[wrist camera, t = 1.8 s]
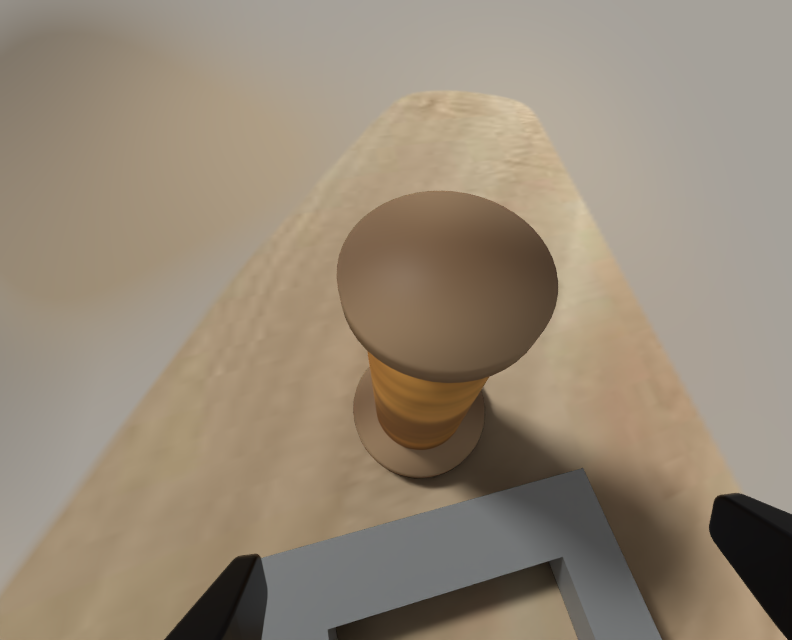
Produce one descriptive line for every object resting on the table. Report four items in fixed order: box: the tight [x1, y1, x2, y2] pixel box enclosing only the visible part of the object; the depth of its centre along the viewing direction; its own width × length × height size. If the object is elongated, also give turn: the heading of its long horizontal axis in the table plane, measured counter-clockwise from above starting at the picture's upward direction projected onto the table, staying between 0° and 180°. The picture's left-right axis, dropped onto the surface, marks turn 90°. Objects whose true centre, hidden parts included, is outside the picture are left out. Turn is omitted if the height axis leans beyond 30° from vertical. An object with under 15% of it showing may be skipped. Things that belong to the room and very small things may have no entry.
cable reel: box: [337, 191, 558, 478], centre depth 15 cm, size 7×7×13 cm
